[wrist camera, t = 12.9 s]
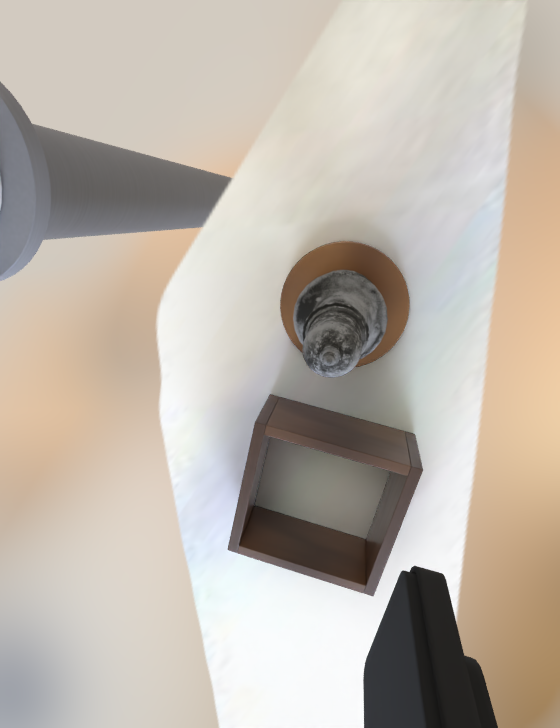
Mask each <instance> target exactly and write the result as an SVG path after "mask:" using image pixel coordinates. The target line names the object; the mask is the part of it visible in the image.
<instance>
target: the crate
mask: <svg viewBox="0 0 560 728" xmlns="http://www.w3.org/2000/svg"><path fill="white" fill-rule="evenodd" d="M270 437H273V438H277V439H280V440H284V441H287V442H291V443H294V444H298V445H301V446H305V447H308V448H312V449H315V450H319V451H322V452H326V453H329V454H333V455H336V456H340V457H343V458H347V459H350V460H354V461H357V462H361V463H364V464H367V465H371V466H374V467H378V468H381V469H385V470H388V471H391V472H390V475H389V477H388V480H387V483H386V486H385V489H384V491H383V494H382V497H381V500H380V502H379V505H378V508H377V511H376V513H375V516H374V519H373V522H372V525H371V527H370V530H369V533H368V536H367V538H366V539H363V538H359V537H356V536H353V535H349V534H346V533H343V532H340V531H336V530H333V529H330V528H326V527H323V526H320V525H317V524H313V523H310V522H307V521H303V520H300V519H297V518H294V517H290V516H287V515H284V514H280V513H277V512H274V511H271V510H267V509H264V508H261V507H257V506H254V504H255V500H256V496H257V491H258V487H259V483H260V479H261V474H262V470H263V466H264V461H265V457H266V453H267V448H268V444H269V440H270ZM422 471H423V468H422V463H421V459H420V454H419V450H418V445H417V441H416V436H415V434H412V433H409V432H405V431H401V430H398V429H394V428H391V427H387V426H383V425H380V424H376V423H372V422H369V421H365V420H362V419H358V418H354V417H351V416H347V415H343V414H340V413H336V412H333V411H329V410H325V409H322V408H318V407H314V406H311V405H307V404H304V403H300V402H296V401H293V400H289V399H286V398H282V397H278V396H274V395H269V397H268V399H267V401H266V403H265V405H264V406H263V408H262V410H261V412H260V414H259V416H258V418H257V420H256V421H255V425H254V429H253V434H252V439H251V443H250V448H249V452H248V457H247V462H246V466H245V471H244V476H243V480H242V485H241V490H240V494H239V499H238V504H237V508H236V513H235V518H234V522H233V527H232V532H231V536H230V541H229V545H228V550H229V551H232V552H235V553H238V554H241V555H244V556H247V557H251V558H254V559H257V560H260V561H263V562H266V563H269V564H273V565H276V566H279V567H282V568H285V569H288V570H291V571H295V572H298V573H301V574H304V575H307V576H310V577H314V578H317V579H320V580H323V581H326V582H329V583H332V584H336V585H339V586H342V587H345V588H348V589H351V590H354V591H358V592H361V593H364V594H367V595H370V596H374V593H375V591H376V588H377V586H378V583H379V581H380V578H381V576H382V573H383V571H384V568H385V565H386V563H387V560H388V558H389V555H390V553H391V550H392V548H393V545H394V543H395V540H396V537H397V535H398V532H399V530H400V527H401V525H402V522H403V520H404V517H405V515H406V512H407V509H408V507H409V504H410V502H411V499H412V497H413V494H414V492H415V489H416V487H417V484H418V481H419V479H420V476H421V474H422Z"/></svg>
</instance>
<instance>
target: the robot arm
mask: <svg viewBox="0 0 560 728" xmlns="http://www.w3.org/2000/svg"><path fill="white" fill-rule="evenodd" d="M1 204H2V183H1V176H0V209H1ZM364 728H498V726H497V723H496V719H495V716H494V712H493V708H492V705H491V701H490V697H489V693H488V690H487V686H486V683H485V679H484V676H483V673H482V670H481V667H480V665H479V664H478V663H477V661H476V660H475V659H473V658H471V657H467V656H464V653H463V649H462V645H461V641H460V636H459V633H458V628H457V624H456V620H455V616H454V612H453V608H452V603H451V599H450V595H449V591H448V587H447V583H446V579H445V576H444V575H443V574H442V573H438V572H435V571H431V570H428V569H424V568H421V567H417V566H413V567H412V568H411V570H410V572H407V571H402V572H401V573H400V576H399V578H398V581H397V583H396V586H395V588H394V591H393V593H392V596H391V598H390V601H389V603H388V606H387V608H386V611H385V613H384V616H383V618H382V621H381V623H380V626H379V628H378V631H377V633H376V636H375V638H374V641H373V643H372V646H371V648H370V651H369V653H368V656H367V659H366V663H365V668H364Z"/></svg>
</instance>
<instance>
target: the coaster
mask: <svg viewBox="0 0 560 728" xmlns="http://www.w3.org/2000/svg"><path fill="white" fill-rule="evenodd" d="M336 270H350V271H355V272H357V273H360V274H362V275H364V276H365V277H366V278H367V279H369V280H370V281H371V282H372V284H373V285H375V286H376V288H377V289H378V291H379V292H380V293H381V295H382V296H383V299H384V302H385V304H386V307H387V317H388V321H387V326H386V331H385V334H384V336H383V338H382V340H381V342H380V343H379V345H378V346H377V347H376V348H375V349H374V350H373V351H372V352H371V353H370V354H368V355H367V356H365V357H364V358H362V359H359V361H358V363H357V365H356V366H355V367H359V366H362V365H366V364H368V363H371V362H373V361H375V360H377V359H378V358H380V357H382V356H383V355H384V354H386V353H387V352H388V351H389V350H390V349H391V348H392V347H393V346H394V345H395V344H396V342H397V341H398V340H399V338H400V336H401V335H402V333H403V331H404V328H405V326H406V323H407V320H408V316H409V293H408V289H407V285H406V282H405V280H404V278H403V276H402V274H401V272H400V271H399V269H398V267H397V266H396V265H395V264H394V263H393V261H392V260H391V259H390V258H389V257H387V256H386V255H385V254H384V253H382V252H381V251H379V250H378V249H376V248H374V247H371V246H369V245H366V244H363V243H359V242H352V241H340V242H333V243H329V244H325V245H323V246H320V247H318V248H316V249H314V250H313V251H311V252H309V253H308V254H307V255H305V256H304V257H303V258H302V259H301V260H300V261H298V262H297V264H296V265H295V266H294V267H293V269H292V270H291V272H290V273H289V275H288V277H287V279H286V281H285V283H284V286H283V290H282V294H281V306H280V309H281V317H282V321H283V325H284V327H285V330H286V332H287V334H288V336H289V338H290V339H291V341H292V342H293V343H294V345H295V346H296V347H297V348H298V349H299V350H300V351H301V352H302V353H303V345H302V343H301V342H300V341H299V338H298V336H297V334H296V331H295V328H294V321H293V315H294V307H295V304H296V302H297V299H298V297H299V295H300V293H301V292H302V291H303V289H304V288H305V287H306V286H307V285H308V284H309V283H310V282H312V281H313V280H314V279H316V278H317V277H320V276H322V275H324V274H327V273H329V272H332V271H336Z"/></svg>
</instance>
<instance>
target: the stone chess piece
mask: <svg viewBox="0 0 560 728" xmlns="http://www.w3.org/2000/svg"><path fill="white" fill-rule="evenodd" d="M293 321H294V328H295V331H296V334H297V336H298V338H299V341H300V342H301V343H302V345H303V356H304V359H305V361H306V363H307V365H308V366H309V367H310V369H311V370H313V371H314V372H315V373H317V374H319V375H322V376H325V377H339V376H342V375H345V374H346V373H348V372H350V371H351V370H352V369H353V368H354V367H355V366H356V365H357V363H358V361H359V359H362V358H364V357H365V356H367V355H368V354H370V353H371V352H372V351H373V350H374V349H375V348H376V347H377V346H378V345H379V343H380V342H381V340H382V338H383V336H384V334H385V331H386V326H387V321H388V317H387V307H386V304H385V302H384V299H383V296H382V295H381V293H380V292H379V291H378V289H377V288H376V286H375V285H373V284H372V282H371V281H370V280H369V279H367V278H366V277H365V276H364V275H362V274H360V273H357V272H355V271H350V270H336V271H332V272H329V273H327V274H324V275H322V276H320V277H317V278H316V279H314V280H313V281H312V282H310V283H309V284H308V285H307V286H306V287H305V288H304V289H303V291H302V292H301V293H300V295H299V297H298V299H297V302H296V304H295V307H294V315H293Z"/></svg>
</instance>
